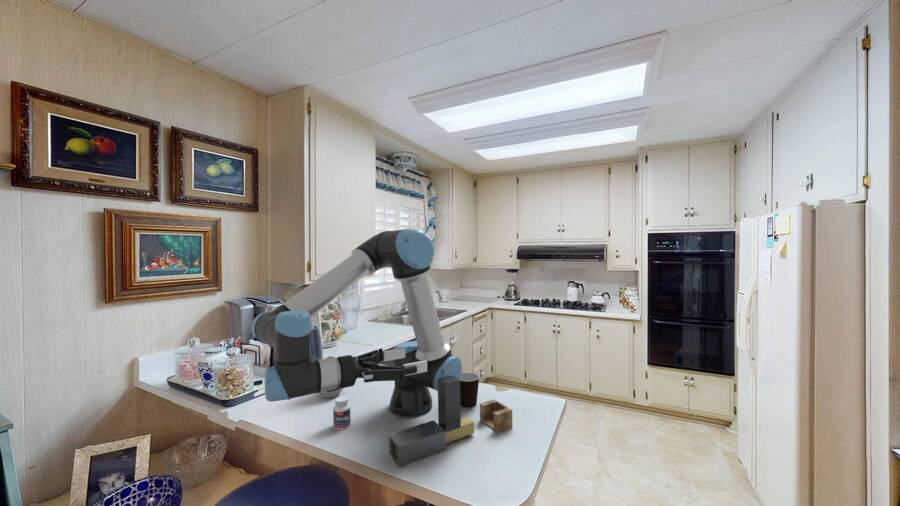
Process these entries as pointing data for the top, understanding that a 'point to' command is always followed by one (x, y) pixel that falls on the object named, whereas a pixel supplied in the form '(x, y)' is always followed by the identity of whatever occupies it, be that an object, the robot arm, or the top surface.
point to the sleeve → (417, 443)
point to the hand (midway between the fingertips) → (415, 358)
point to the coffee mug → (468, 389)
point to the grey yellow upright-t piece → (451, 410)
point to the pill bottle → (341, 413)
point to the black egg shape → (331, 391)
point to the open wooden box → (496, 415)
